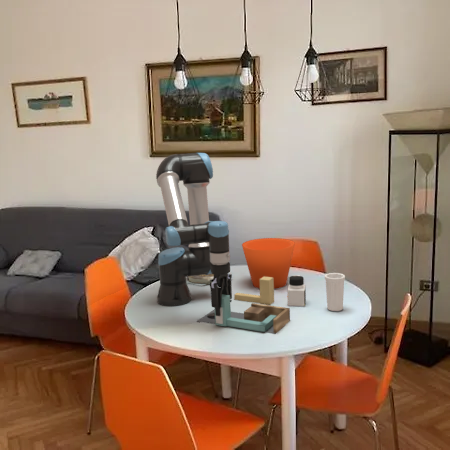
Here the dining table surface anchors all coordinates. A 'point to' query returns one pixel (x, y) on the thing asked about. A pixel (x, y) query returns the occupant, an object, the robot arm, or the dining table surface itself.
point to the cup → (334, 291)
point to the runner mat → (233, 315)
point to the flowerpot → (269, 259)
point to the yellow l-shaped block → (265, 293)
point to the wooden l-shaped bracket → (280, 312)
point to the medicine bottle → (296, 291)
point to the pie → (201, 279)
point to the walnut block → (254, 314)
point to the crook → (241, 322)
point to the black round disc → (211, 316)
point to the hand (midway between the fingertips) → (222, 320)
